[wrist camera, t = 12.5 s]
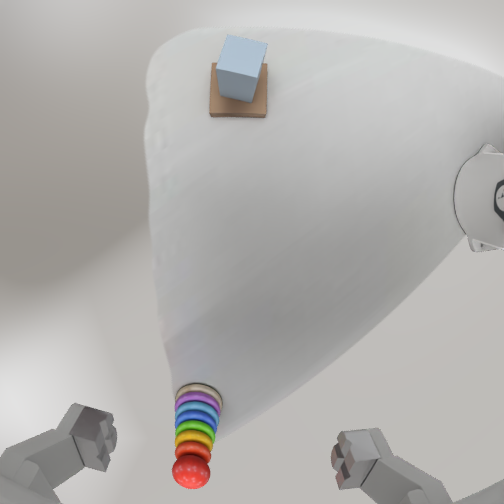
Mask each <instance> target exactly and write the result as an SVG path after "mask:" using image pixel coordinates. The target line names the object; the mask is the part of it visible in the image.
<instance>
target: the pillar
mask: <svg viewBox="0 0 504 504" xmlns="http://www.w3.org/2000/svg"><path fill="white" fill-rule="evenodd" d="M267 45H268V44H267V43H263V42H259V41H255V40H250V39H246V38H242V37H237V36H232V35H227V37H226V40H225V43H224V46H223V49H222V51H221V54H220V57H219V60H218V63H217V66H216V73H217V79H218V85H219V92H220V96H224V97H228V98H232V99H236V100H241V101H245V102H249V103H252V100H253V96H254V93H255V90H256V86H257V83H258V80H259V76H260V73H261V68H262V64H263V60H264V57H265V53H266V49H267Z"/></svg>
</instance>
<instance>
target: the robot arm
mask: <svg viewBox="0 0 504 504" xmlns="http://www.w3.org/2000/svg"><path fill="white" fill-rule="evenodd" d="M454 203H455V210H456V215H457V218H458V221H459V223H460V225H461V227H462V228H463V230H464V231H465V233H466V234H467V236H468V241H469V245H470V248H471V250H472V251H474V252H482V251H489V250H496V249H501V250H504V153H501V152H500V151H498V150H497V149H496V148H494V147H493V146H492V145H490V144H484V145H483V146H482V148H481V149H480V151H479V153H478V154H477V155H475V156H474V157H472V158H470V159H469V160H468V161H467V162H466V163H465V164H464V165H463V166H462V168H461V170H460V172H459V174H458V177H457V180H456V185H455V192H454ZM480 244H481V245H480ZM113 421H114V418H113V415H112V414H111V413H109V412H105V411H101V410H98V409H94V408H91V407H87V406H83V405H80V404H77V403H74V404H72V405H71V407H70V408H69V410H68V411H67V413H66V414H65V416H64V417H63V419H62V421H61V422H60V424H59V426H58V427H57V429H56V430H55V429H51V430H49V431H46V432H44V433H42V434H40V435H37V436H35V437H33V438H30V439H28V440H26V441H23V442H21V443H18V444H16V445H14V446H11V447H9V448H6V450H5V451H4V453H3V454H2V455H1V457H0V504H62V503H60V500H59V498H58V497H57V495H56V494H55V492H54V491H53V489H54V488H56V487H57V486H59V485H60V484H62V483H63V482H64V481H66V480H67V479H69V478H70V477H72V476H73V475H75V474H76V473H78V472H79V471H80V470H82V469H83V468H84V466H85V467H88V468H92V469H95V470H99V471H103V472H106V470H107V467H108V464H109V462H110V456H109V454H110V453H111V452H113V451H114V449H115V447H116V442H117V432H116V428H115V427H114V426H113V425H112V424H113ZM337 440H338V443H337V444H336V445H335V446H334V447H333V450H332V453H331V463H332V467H333V469H335V470H336V471H337V472H338V473H337V475H336V480H337V484H338V487H339V490H342V489H350V488H359V487H361V490H363V491H364V492H365V493H366V494H367V495H368V496H369V497H370V498H372V499H373V500H374V501H375V502H376V503H377V504H504V479H503V480H501V481H499V482H497V483H495V484H493V485H492V486H489V487H488V488H485V489H483V490H481V491H479V492H477V493H475V494H472V495H470V496H468V497H466V498H463V499H461V500H459V501H456V502H454V503H453V502H452V500H451V498H450V497H449V495H448V493H447V491H446V489H445V488H444V486H443V484H442V482H441V481H439V480H438V479H436V478H434V477H432V476H431V475H429V474H427V473H425V472H424V471H422V470H420V469H418V468H417V467H415V466H413V465H412V464H410V463H408V462H407V461H405V460H403V459H402V458H400V457H398V456H394V455H393V453H392V451H391V449H390V447H389V445H388V443H387V442H386V439H385V438H384V436H383V434H382V432H381V430H380V429H379V428H373V429H362V430H352V431H341V432H340V433H339V435H338V437H337Z"/></svg>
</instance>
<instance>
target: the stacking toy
mask: <svg viewBox="0 0 504 504" xmlns="http://www.w3.org/2000/svg"><path fill="white" fill-rule="evenodd" d="M221 409H222V400H221V397H220V396H219V394H218V393H217V392H216V391H215V390H213V389H212V388H210V387H208V386H205V385H201V384H192V385H188V386H185V387H183V388H181V389H180V390H179V391H178V393H177V395H176V398H175V412H176V413H175V420H176V421H175V428H176V432H175V435H176V438H175V446H176V450H175V456H176V458H177V460H176V462H175V463H174V465H173V468H172V474H173V477H174V479H175V481H176V482H177V483H178V484H180V485H181V486H183V487H185V488H188V489H197V488H200V487H202V486H204V485H205V484H206V483H207V482H208V480H209V478H210V469H209V466H208V465H207V463H209V461H210V459H211V453H210V452H211V450H212V447H213V443H214V441H215V434H216V431H217V426H218V424H219V417H220V412H221Z"/></svg>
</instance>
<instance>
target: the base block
mask: <svg viewBox="0 0 504 504" xmlns="http://www.w3.org/2000/svg"><path fill="white" fill-rule="evenodd" d="M216 66H217V63H212V71H211V90H210V112H209V113H210V115H211V117H259V118H265V116H266V103H267V64H264V63H263V64H262V68H261V73H260V76H259V80H258V83H257V86H256V90H255V93H254V96H253V100H252V103H249V102H245V101H241V100H236V99H232V98H228V97H224V96H220V92H219V85H218V79H217V73H216Z"/></svg>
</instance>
